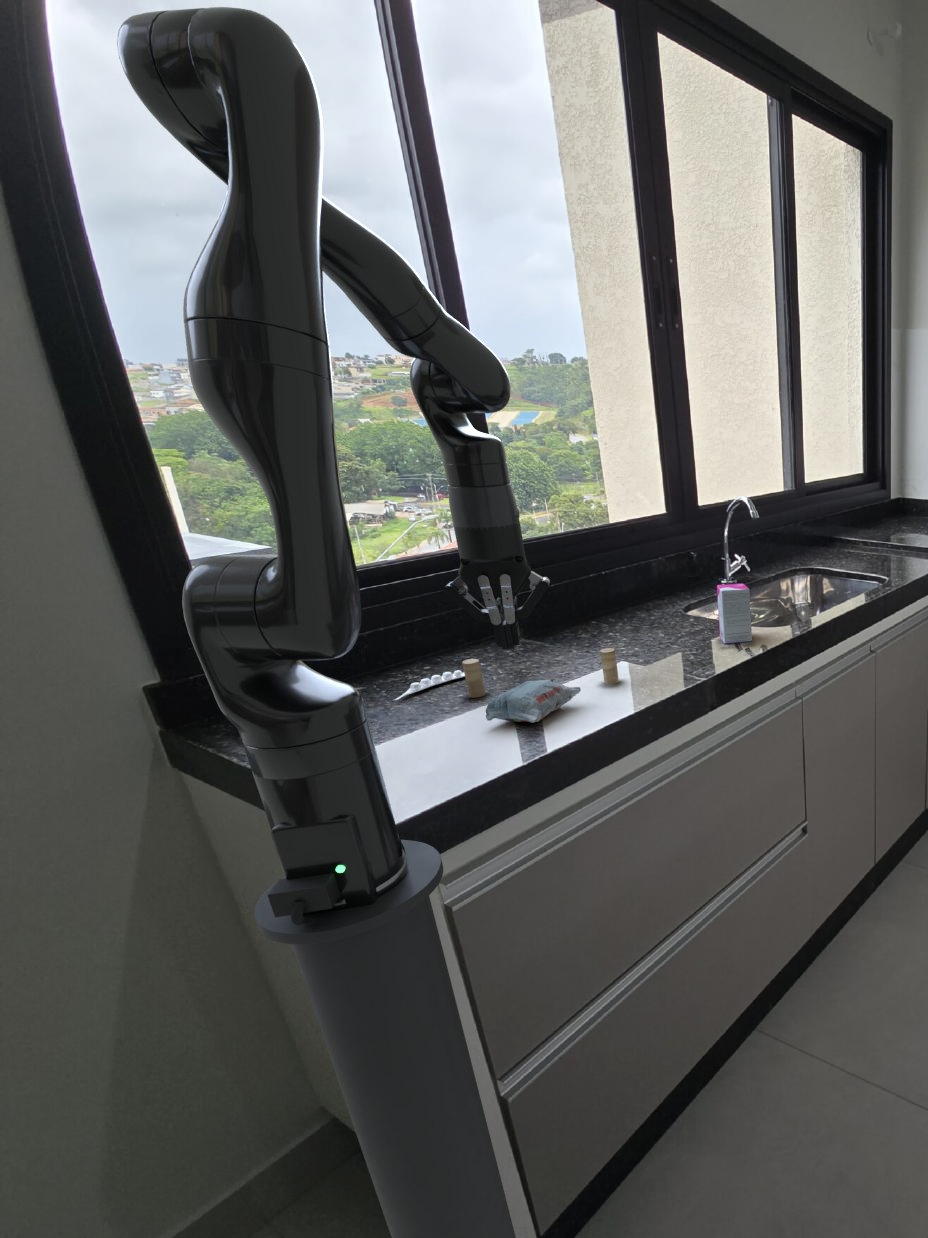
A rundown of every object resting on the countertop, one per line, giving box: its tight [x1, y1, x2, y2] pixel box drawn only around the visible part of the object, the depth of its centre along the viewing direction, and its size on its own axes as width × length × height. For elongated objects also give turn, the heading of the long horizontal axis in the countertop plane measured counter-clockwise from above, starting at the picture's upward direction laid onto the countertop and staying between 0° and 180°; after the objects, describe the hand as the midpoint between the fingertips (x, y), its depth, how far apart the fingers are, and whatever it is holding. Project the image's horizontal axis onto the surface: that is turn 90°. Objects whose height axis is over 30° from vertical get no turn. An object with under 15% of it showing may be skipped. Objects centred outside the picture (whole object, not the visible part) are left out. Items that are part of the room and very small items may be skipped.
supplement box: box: [716, 583, 753, 646], centre depth 150 cm, size 6×6×12 cm
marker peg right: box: [599, 647, 620, 685], centre depth 128 cm, size 2×2×6 cm
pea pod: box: [394, 669, 465, 702], centre depth 126 cm, size 15×4×2 cm, turn 151°
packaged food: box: [485, 679, 581, 724], centre depth 114 cm, size 9×12×5 cm
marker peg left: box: [462, 658, 486, 699], centre depth 122 cm, size 2×2×6 cm
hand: (510, 648), depth 100 cm, fingers closed
